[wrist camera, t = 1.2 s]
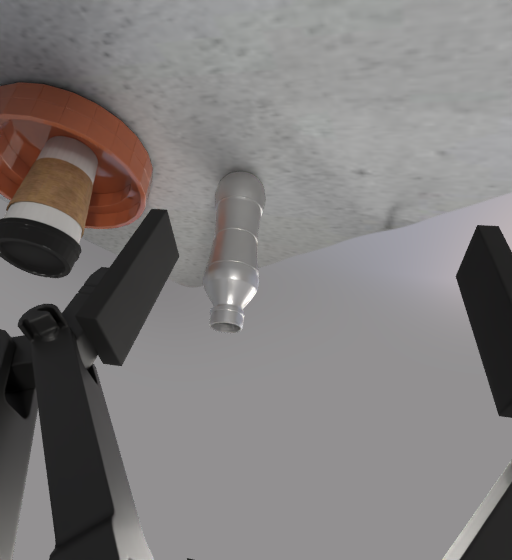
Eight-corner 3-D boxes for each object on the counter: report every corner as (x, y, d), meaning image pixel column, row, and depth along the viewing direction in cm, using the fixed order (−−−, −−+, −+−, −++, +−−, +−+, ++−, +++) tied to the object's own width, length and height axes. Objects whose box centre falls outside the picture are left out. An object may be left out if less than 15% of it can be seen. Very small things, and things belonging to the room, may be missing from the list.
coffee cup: (66, 180, 50) (28, 280, 43) (17, 131, 42) (-37, 242, 36) (121, 175, 48) (90, 278, 41) (81, 122, 40) (35, 237, 34)
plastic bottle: (216, 194, 51) (195, 333, 42) (219, 159, 45) (195, 313, 36) (262, 201, 51) (251, 339, 43) (271, 168, 45) (260, 321, 37)
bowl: (-36, 142, 45) (-54, 173, 43) (11, 38, 33) (-11, 74, 31) (110, 216, 57) (101, 243, 55) (183, 160, 45) (176, 192, 43)
